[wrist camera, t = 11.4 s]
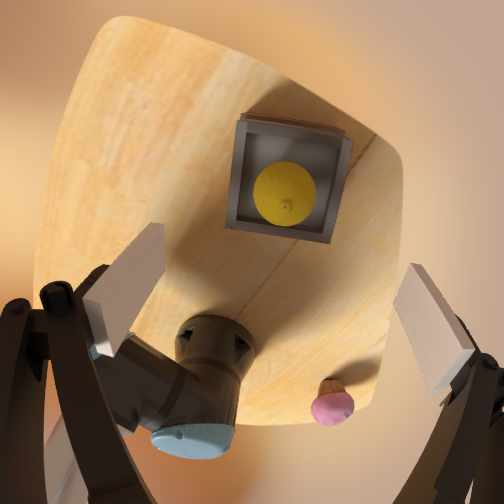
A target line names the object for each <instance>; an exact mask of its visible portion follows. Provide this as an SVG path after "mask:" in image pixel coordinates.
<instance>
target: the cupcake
mask: <svg viewBox="0 0 504 504" xmlns="http://www.w3.org/2000/svg"><path fill="white" fill-rule="evenodd" d="M353 411H354V400H353V398H352V397H351V396H350V395H349V394H348V393H347V392H346V391H345V388H344V386H343V384H342V383H341V382H340V381H339V380H337V379H334V380H325V381H323V382H321V384H320V387H319V391H318V396H317V399H315V400H314V401H313V403H312V405H311V413H312V416H313V418H314V419H315V420H316V421H317V422H320V423H321V424H323V425H325V426H333V425H337V424H340V423H341V422H343V421H345V420H346V419H347V418H348V417H349V416H350V415H351V414H352V413H353Z"/></svg>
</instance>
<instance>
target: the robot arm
mask: <svg viewBox="0 0 504 504" xmlns="http://www.w3.org/2000/svg"><path fill="white" fill-rule="evenodd" d="M164 271H165V256H164V224H158V223H150V224H149V225H148V226H147V227H146V228H145V229H144V230H143V231H142V232H141V233H140V234H139V235H138V236H137V237H136V238H135V239H134V240H133V241H132V242H131V243H130V245H129V246H128V247H127V248H126V249H125V250H124V251H123V252H122V253H121V254H120V255H119V256H118V258H117V259H116V260H115V261H114V262H113V263H112V264H111V265H105V264H103V265H101V266H99V267H97V268H96V269H94V270H93V271H92V272H91V273H90V274H89V275H88V277H87V278H86V279H85V280H84V281H83V283H81V284H80V285H79V286H78V288H77V289H76V290H75V291H74V292H73V289H72V286H71V285H70V284H69V283H68V282H65V281H54V282H51V283H49V284H47V285H46V286H44V287H43V288H42V289H41V291H40V294H39V296H40V299H41V302H42V305H43V308H44V310H43V309H32V308H31V305H30V303H29V301H28V300H26V299H23V298H18V299H14V300H12V301H10V302H9V303H7V304H6V306H5V307H4V309H3V311H2V314H1V316H0V504H87V502H88V504H157V502H156V501H155V499H154V498H153V496H152V494H151V492H150V491H149V489H148V487H147V485H146V483H145V482H144V480H143V478H142V476H141V474H140V472H139V470H138V469H137V467H136V465H135V463H134V461H133V459H132V457H131V455H130V453H129V451H128V449H127V446H126V444H125V442H124V440H123V438H122V437H126V436H130V435H133V434H134V432H135V430H136V428H137V426H138V425H140V426H142V427H144V428H146V429H148V430H150V431H151V432H152V433H151V435H150V437H151V442H152V444H153V445H154V446H156V448H158V449H159V450H161V451H163V452H165V453H168V454H171V455H174V456H178V457H183V458H190V459H211V458H216V457H219V456H222V455H224V454H225V453H226V452H227V451H228V450H229V449H230V446H231V443H232V439H233V435H234V433H235V422H236V415H237V408H238V401H239V394H240V386H241V382H242V380H243V379H244V377H245V375H246V374H247V372H248V371H249V369H250V367H251V366H252V364H253V361H254V356H255V343H254V340H253V338H252V336H251V335H250V333H249V332H248V331H247V330H246V329H245V328H244V327H242V326H241V325H239V324H238V323H236V322H234V321H232V320H230V319H227V318H224V317H219V316H212V315H204V316H198V317H194V318H191V319H189V320H188V321H186V322H185V323H184V324H183V325H182V326H181V327H180V329H179V331H178V334H177V336H176V339H175V360H176V362H175V361H173V360H172V359H170V358H169V357H167V356H165V355H164V354H162V353H161V352H159V351H158V350H156V349H155V348H153V347H152V346H150V345H149V344H147V343H146V342H144V341H143V340H142V339H140V338H139V337H137V336H136V335H135V333H134V332H130V331H129V329H130V328H131V326H132V324H133V322H134V321H135V319H136V317H137V315H138V314H139V312H140V310H141V309H142V307H143V305H144V304H145V302H146V300H147V299H148V297H149V295H150V294H151V292H152V290H153V289H154V287H155V285H156V284H157V282H158V281H159V279H160V277H161V276H162V274H163V273H164ZM393 305H394V307H395V309H396V311H397V313H398V316H399V318H400V320H401V322H402V324H403V327H404V329H405V332H406V334H407V336H408V339H409V341H410V344H411V346H412V348H413V351H414V353H415V356H416V358H417V361H418V363H419V366H420V368H421V371H422V374H423V377H424V379H425V382H426V385H427V388H428V390H429V393H430V394H436V393H443V392H444V391H445V389H446V388H447V387H448V386H449V384H450V385H451V388H452V391H451V392H450V393H449V394H448V396H447V397H446V398H445V399H444V400H443V401H442V402H441V404H440V405H439V406H442V405H443V404H444V407H443V409H442V412H441V414H440V417H439V419H438V421H437V423H436V425H435V428H434V430H433V432H432V434H431V436H430V439H429V441H428V443H427V445H426V447H425V449H424V451H423V453H422V454H421V456H420V458H419V460H418V462H417V464H416V466H415V467H414V469H413V471H412V473H411V475H410V476H409V478H408V480H407V481H406V483H405V485H404V487H403V488H402V490H401V491H400V493H399V494H398V496H397V497H396V499H395V501H394V502H393V504H465V499H466V496H467V494H468V491H469V489H470V486H471V483H472V481H473V486H472V492H471V498H470V503H469V504H504V412H503V411H502V408H503V407H504V368H500V367H499V365H498V363H497V361H496V360H495V359H494V358H493V357H492V356H491V355H489V354H487V353H481V351H480V350H479V348H478V346H477V345H476V343H475V341H474V339H473V338H472V336H471V335H470V333H469V331H468V329H466V326H465V324H464V323H463V321H462V320H461V319H460V318H459V317H458V316H457V315H456V314H454V313H453V311H452V309H451V308H450V306H449V304H448V303H447V302H446V300H445V298H444V297H443V295H442V294H441V292H440V291H439V289H438V288H437V287H436V285H435V284H434V282H433V281H432V279H431V278H430V276H429V275H428V274H427V272H426V271H425V269H424V268H423V267H422V265H419V264H414V263H410V265H409V267H408V270H407V272H406V275H405V277H404V280H403V282H402V285H401V287H400V289H399V291H398V294H397V296H396V298H395V300H394V303H393ZM48 360H51V363H52V370H53V375H54V380H55V385H56V390H57V394H58V399H59V403H60V408H61V411H62V414H61V415H60V417H59V419H58V421H57V423H56V425H55V427H54V429H53V431H52V432H51V435H50V436H49V438H48V440H47V442H46V444H45V446H44V443H43V434H44V433H43V431H44V403H45V402H44V401H45V389H46V378H47V369H48ZM473 478H474V480H473Z"/></svg>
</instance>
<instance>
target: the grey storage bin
mask: <svg viewBox="0 0 504 504" xmlns="http://www.w3.org/2000/svg"><path fill="white" fill-rule="evenodd" d="M344 134H345V131H344V130H342V129H339V128H336V127H332V126H327V125H322V124H317V123H312V122H306V121H301V120H295V119H289V118H283V117H276V116H269V115H262V114H254V113H241V117H240V120H238V121H237V125H236V133H235V141H234V150H233V159H232V168H231V177H230V187H229V196H228V206H227V216H226V226H225V228H229V229H236V230H243V231H250V232H256V233H263V234H269V235H276V236H282V237H289V238H295V239H301V240H307V241H314V242H320V243H326V244H330V241H331V237H332V234H333V230H334V226H335V222H336V218H337V214H338V209H339V205H340V201H341V197H342V192H343V188H344V184H345V179H346V174H347V170H348V165H349V160H350V155H351V151H352V145H353V140H351V139H349V138H347V137H345V136H344ZM281 161H286V162H292V163H296V164H298V165H300V166H301V167H303V168H304V169H305V170H306V171H307V172H308V173H309V174H310V176H311V177H312V179H313V181H314V184H315V188H316V200H315V204H314V207H313V209H312V211H311V213H310V214H309V215H308V216H307V217H306V218H305V219H304V220H303V221H301V222H300V223H298V224H295V225H292V226H278V225H275V224H272V223H270V222H269V221H267V220H266V219H265V218H264V217H263V216H262V215H261V214H260V213H259V211H258V209H257V207H256V205H255V201H254V196H253V193H254V185H255V182H256V179H257V177H258V176H259V174H260V173H261V172H262V171H263V170H264V169H265V168H266V167H267V166H269V165H271V164H273V163H276V162H281Z"/></svg>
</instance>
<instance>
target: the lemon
mask: <svg viewBox="0 0 504 504" xmlns="http://www.w3.org/2000/svg"><path fill="white" fill-rule="evenodd" d="M253 196H254V201H255V205H256V207H257V209H258V211H259V213H260V214H261V215H262V216H263V217H264V218H265V219H266V220H267V221H269V222H270V223H272V224H275V225H278V226H292V225H295V224H298V223H300V222H301V221H303V220H304V219H305V218H306V217H307V216H308V215H309V214H310V213H311V211H312V209H313V207H314V204H315V200H316V188H315V184H314V181H313V179H312V177H311V176H310V174H309V173H308V172H307V171H306V170H305V169H304V168H303V167H301V166H300V165H298V164H296V163H292V162H286V161H281V162H276V163H273V164H271V165H269V166H267V167H266V168H265V169H264V170H263V171H262V172H261V173H260V174H259V176H258V177H257V179H256V182H255V185H254V193H253Z"/></svg>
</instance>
